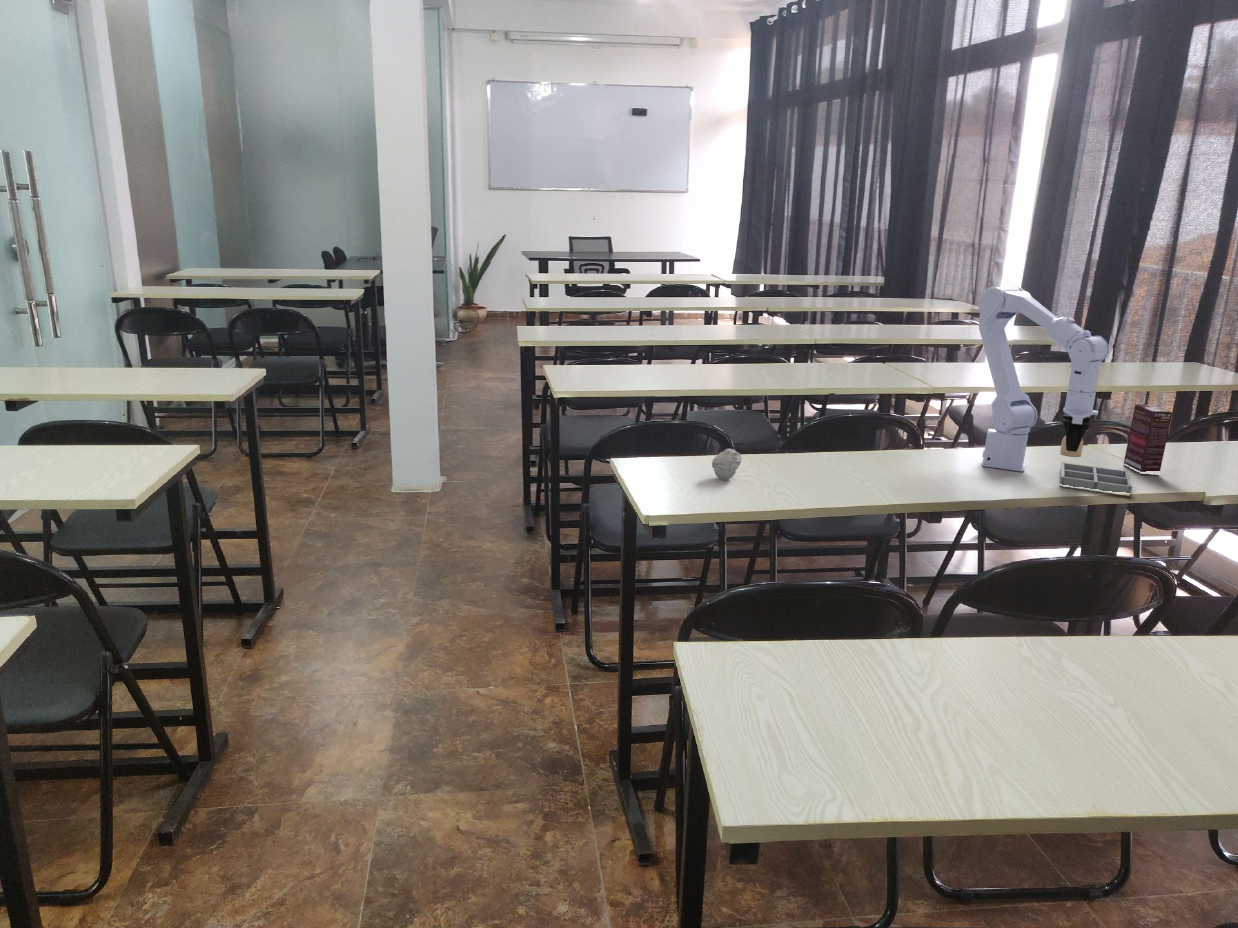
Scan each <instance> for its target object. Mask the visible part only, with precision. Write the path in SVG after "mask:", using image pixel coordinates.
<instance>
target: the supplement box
mask: <svg viewBox="0 0 1238 928" xmlns="http://www.w3.org/2000/svg"><path fill="white" fill-rule="evenodd" d="M1172 416H1173V412H1172V411H1170V410H1167V409H1165V408H1162V407H1160V406H1159V407H1158V406H1156V405H1154V404H1145V403H1144V404H1143V403H1142V404H1140V403H1137V404H1136V403H1135V405H1134V409H1133V414H1132V419H1131V424H1130V430H1129V434H1128V435H1129V436H1128V438H1127V439H1128V441H1127V444H1126V450H1125V454H1124V459H1123V464H1126V465H1128V466H1129V467H1132V468H1134V469H1136V470H1138V471H1140V472H1146V471H1160V472H1161V469H1162V463H1163V459H1164V454H1165V450H1166V444H1167V440H1168V436H1169V431H1170V427H1171V421H1172Z"/></svg>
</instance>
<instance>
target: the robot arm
mask: <svg viewBox="0 0 1238 928" xmlns="http://www.w3.org/2000/svg"><path fill="white" fill-rule="evenodd" d="M977 305H978V310H979V319H978V320H979V321H978V329H979V334H980V337H981V342H982V345H983V348H984V351H985V355H986V360H987V363H988V368H989V370H990V375H991V379H992V382H993V386H994V389H995V390H994V391H995V394H996V396H995V397H994V399H993V401H992V403H991V408H992V415H991V421H992V424H993V426H994V428H988V429H987V433H986V438H985V444H984V445H985V446H984V450H983V452H982V458H983V459H982V465H981V466H983V467H988V468H993V469H1000V470H1010V471H1016V472H1023V471H1024V472H1025V467H1026V462H1025V456H1026V450H1027V443H1028V438H1029V433H1030V431H1031V427H1032V428H1033V426H1034V425H1035V424H1036V423H1037V421H1038V414H1039V413H1038V410H1037V409H1036V407H1035V406H1034V404H1033V403H1032V402H1031V399H1030V396H1029V395H1028V394H1026V392H1024V391H1023V389H1021V385H1020V382H1019V379H1018V375H1017V370H1016V366H1015V363H1014V360H1013V356H1012V352H1011V349H1010V345H1009V341H1008V338H1007V334H1006V330H1005V328H1006V326H1008V324H1009V322H1010V321H1011V320H1012V319H1013V318H1014V317H1015V316H1017V314H1019V313H1020V314H1022V315H1024V317H1027V318H1028V319H1030V320H1031V321H1033V322H1034V323H1036V324H1037V325H1039V326H1041V327H1042V328H1044V329H1045V330H1046V336H1047V338H1048V339H1050V340H1051V341H1052V342H1053V343H1055V344H1056V345H1058V346H1060V348H1062V349H1063V350H1065V351H1066V353H1067V352H1068V356H1069V359H1070V361H1071V363H1070V364H1071V365H1070V369H1071V370H1070V375H1069V381H1068V386H1067V391H1066V392H1067V393H1066V398H1065V404H1064V407H1063V409H1062V412H1064V413H1065V414H1063V415H1062V417H1063V419H1062V424H1063V427H1064V432H1065V436H1066V450H1067V451H1073V452H1077V450H1078V448H1079V445H1080V442H1081V440H1082V439H1083V437H1084V435H1085V433H1086V432H1087V430H1088V429H1089V428H1090V426H1091V425H1092V424H1091V423H1090V421H1091V416H1098V415H1099V411H1098V410H1094V404H1095V399H1096V393H1097V389H1098V388H1097V387H1098V383H1099V377H1100V371H1101V365H1102V361H1104V360H1105V359H1106V358H1107V357H1108V355H1109V351H1110V347H1109V344H1108V342H1107V340H1105V338H1104V337H1103V336H1101V335H1093V336H1092V332H1091V331H1089V330H1088V329H1087V330H1085V329H1083V327H1081V326H1079V325H1078V324H1077V323H1076V322H1075V321H1076V320H1075V319H1074V318H1072V317H1066V316H1063V317H1057V316H1056V315H1055V314H1054V313H1053V312H1051V311H1050V310H1049V309H1048V308H1046V307H1045V306H1044V305H1042V304H1041V303H1040V302H1039V301H1038V300H1036V299H1035V298H1033V296H1032V295H1031V293H1030V292H1029V291H1026V290H1024V289H1023V288H1022V287H1021V286H1019V285H1018V286H1017V285H1013V286H1002V287H1001V286H1000V287H999V286H998V287H997V286H991V287H987V288H986V289H985V290H983V292H982V294H981V295H980V297H979V298H978V300H977Z"/></svg>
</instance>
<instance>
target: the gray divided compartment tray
mask: <svg viewBox="0 0 1238 928" xmlns="http://www.w3.org/2000/svg"><path fill="white" fill-rule="evenodd" d="M1060 484H1062V485H1069V486H1073V487H1084V488H1090V489H1099V490H1102V491H1112V492H1126V493H1132V489H1133V486H1132V485H1133V484H1132V481H1131V478H1130V474H1129V471H1128V470H1123V469H1114V468H1106V467H1099V466H1094V465H1084V464H1078V463H1077V464H1076V463H1071V462H1062V461H1061V464H1060V469H1059V485H1060Z"/></svg>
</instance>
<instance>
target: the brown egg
mask: <svg viewBox="0 0 1238 928" xmlns="http://www.w3.org/2000/svg"><path fill="white" fill-rule="evenodd" d="M1083 446H1084V439H1083V438H1082V440H1081V442H1080V445H1079V448H1078V450H1077V452H1073V451H1067V450H1066V435H1064V437H1063V438H1062V441H1061V444H1060V449H1059V451H1060V452H1059V454H1060V455H1061V456H1065V457H1069V458H1080V457H1082V454H1083V448H1084V447H1083Z"/></svg>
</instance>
